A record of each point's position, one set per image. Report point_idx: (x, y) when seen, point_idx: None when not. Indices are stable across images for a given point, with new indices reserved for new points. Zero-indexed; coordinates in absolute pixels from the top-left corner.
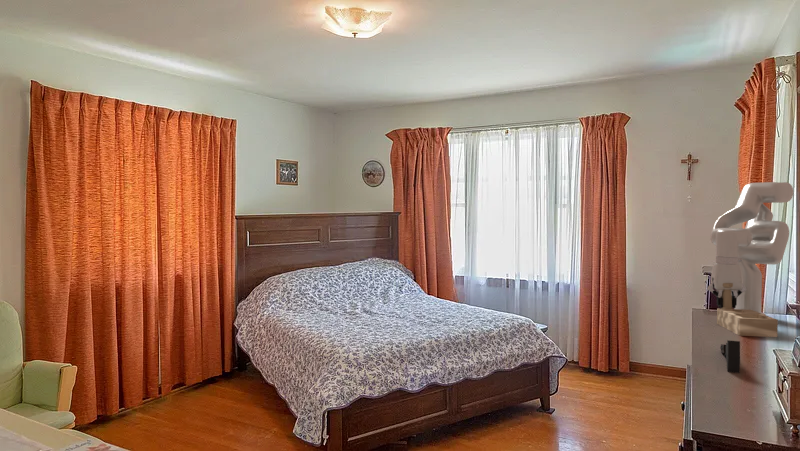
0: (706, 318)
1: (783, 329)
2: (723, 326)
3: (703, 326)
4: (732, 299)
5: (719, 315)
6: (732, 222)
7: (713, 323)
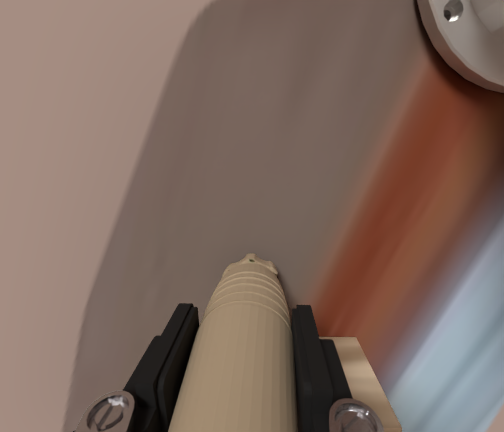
0: (165, 169)
1: (473, 407)
2: None
3: None
4: (299, 422)
5: None
6: None
7: (163, 323)
